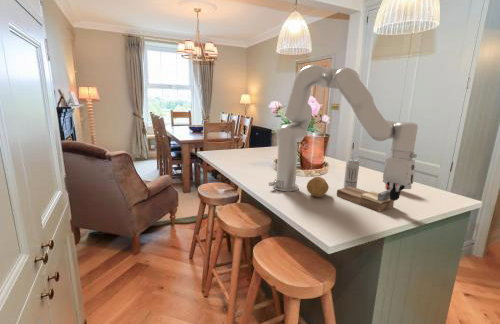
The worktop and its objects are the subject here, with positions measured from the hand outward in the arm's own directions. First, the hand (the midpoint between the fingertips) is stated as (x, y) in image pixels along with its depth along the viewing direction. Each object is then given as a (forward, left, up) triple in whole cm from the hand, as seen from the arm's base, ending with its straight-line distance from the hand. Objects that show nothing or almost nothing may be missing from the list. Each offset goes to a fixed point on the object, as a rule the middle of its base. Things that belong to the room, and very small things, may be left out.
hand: (393, 199), depth 104 cm
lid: (0, +7, -2) cm, 7 cm away
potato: (-13, +28, -5) cm, 31 cm away
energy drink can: (+9, +26, -5) cm, 28 cm away
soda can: (+27, +14, -5) cm, 31 cm away
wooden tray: (0, +13, -5) cm, 14 cm away
